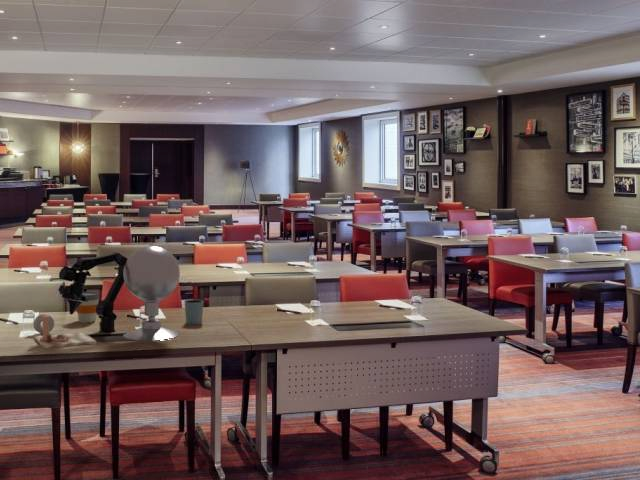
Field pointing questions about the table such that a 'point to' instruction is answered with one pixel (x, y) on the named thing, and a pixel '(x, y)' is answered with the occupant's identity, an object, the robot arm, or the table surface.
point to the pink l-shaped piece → (46, 331)
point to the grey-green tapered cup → (194, 311)
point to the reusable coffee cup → (88, 307)
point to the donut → (39, 319)
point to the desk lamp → (151, 288)
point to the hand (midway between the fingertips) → (71, 314)
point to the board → (70, 341)
